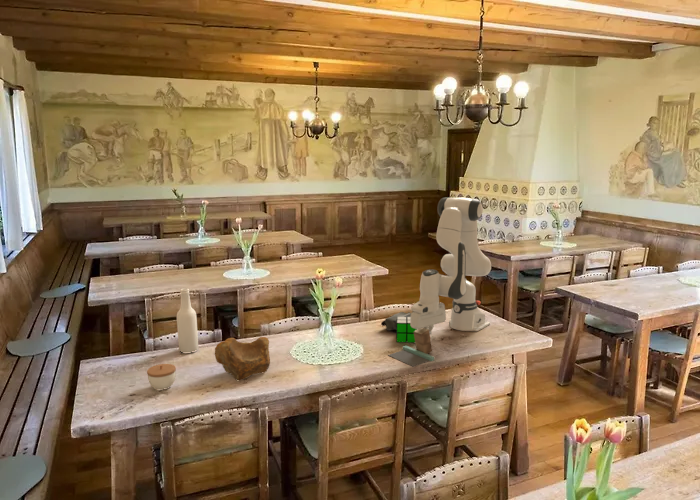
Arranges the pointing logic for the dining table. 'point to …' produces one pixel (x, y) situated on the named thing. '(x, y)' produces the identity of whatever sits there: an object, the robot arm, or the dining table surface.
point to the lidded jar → (161, 375)
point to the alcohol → (187, 324)
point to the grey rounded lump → (394, 321)
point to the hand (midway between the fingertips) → (428, 334)
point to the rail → (418, 353)
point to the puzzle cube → (404, 330)
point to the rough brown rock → (243, 357)
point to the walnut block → (423, 340)
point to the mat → (408, 358)
